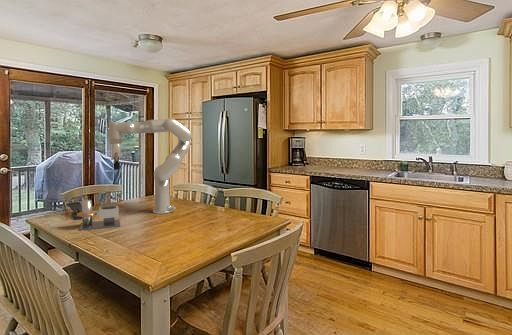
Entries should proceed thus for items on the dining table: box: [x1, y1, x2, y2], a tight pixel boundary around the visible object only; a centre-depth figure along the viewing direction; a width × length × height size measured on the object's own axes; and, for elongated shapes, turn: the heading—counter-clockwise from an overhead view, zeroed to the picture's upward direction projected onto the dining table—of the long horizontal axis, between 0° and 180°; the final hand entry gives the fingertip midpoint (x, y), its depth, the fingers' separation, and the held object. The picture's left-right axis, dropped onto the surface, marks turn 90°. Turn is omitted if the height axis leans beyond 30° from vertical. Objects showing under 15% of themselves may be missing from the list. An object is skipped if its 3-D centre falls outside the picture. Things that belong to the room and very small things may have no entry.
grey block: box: [102, 204, 116, 224], centre depth 179 cm, size 6×3×10 cm, turn 117°
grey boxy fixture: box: [77, 199, 121, 232], centre depth 177 cm, size 22×13×15 cm, turn 116°
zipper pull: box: [66, 201, 83, 221], centre depth 200 cm, size 9×7×25 cm
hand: (116, 168), depth 198 cm, fingers open, 9 cm apart
